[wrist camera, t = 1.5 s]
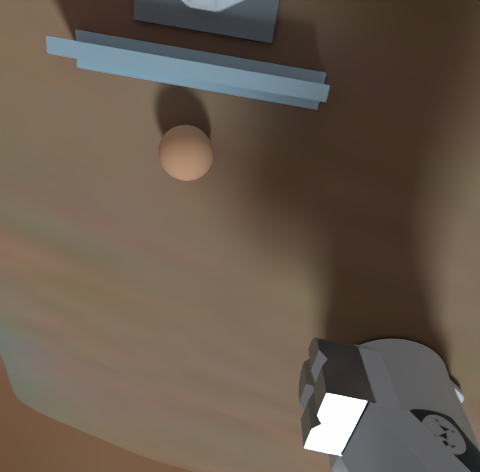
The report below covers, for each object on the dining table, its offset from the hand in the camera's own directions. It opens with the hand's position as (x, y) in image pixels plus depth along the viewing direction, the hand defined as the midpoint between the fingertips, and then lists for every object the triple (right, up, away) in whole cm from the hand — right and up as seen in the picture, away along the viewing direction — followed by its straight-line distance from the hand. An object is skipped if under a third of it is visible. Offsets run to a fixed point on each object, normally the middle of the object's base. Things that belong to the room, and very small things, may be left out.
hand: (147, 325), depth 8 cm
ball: (-3, +10, +23) cm, 25 cm away
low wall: (-1, +17, +22) cm, 28 cm away
